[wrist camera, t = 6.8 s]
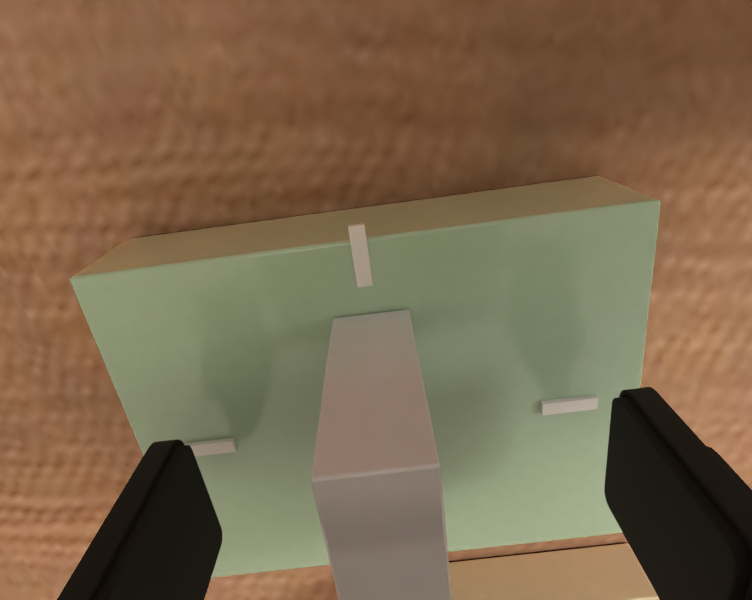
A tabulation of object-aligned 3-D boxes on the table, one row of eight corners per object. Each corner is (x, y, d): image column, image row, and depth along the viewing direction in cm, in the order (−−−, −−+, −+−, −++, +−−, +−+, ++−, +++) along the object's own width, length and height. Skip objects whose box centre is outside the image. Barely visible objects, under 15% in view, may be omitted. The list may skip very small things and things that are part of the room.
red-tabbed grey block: (331, 317, 11) (306, 493, 6) (409, 307, 11) (443, 477, 6) (368, 520, 14) (369, 752, 9) (431, 514, 14) (466, 744, 9)
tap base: (601, 161, 13) (669, 184, 10) (583, 469, 17) (627, 546, 14) (123, 226, 13) (56, 265, 10) (223, 510, 18) (195, 593, 15)
